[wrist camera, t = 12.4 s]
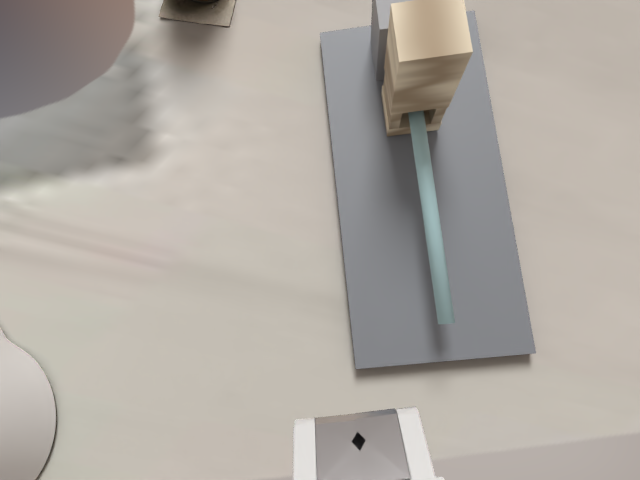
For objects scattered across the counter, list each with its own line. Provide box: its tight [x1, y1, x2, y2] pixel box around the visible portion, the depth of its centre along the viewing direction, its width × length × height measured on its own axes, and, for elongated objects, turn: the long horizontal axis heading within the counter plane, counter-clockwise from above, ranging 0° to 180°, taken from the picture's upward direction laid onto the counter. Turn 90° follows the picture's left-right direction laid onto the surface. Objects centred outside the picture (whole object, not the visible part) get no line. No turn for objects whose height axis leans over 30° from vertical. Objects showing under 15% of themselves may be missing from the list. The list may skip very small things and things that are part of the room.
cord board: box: [320, 0, 536, 369], centre depth 33 cm, size 14×30×8 cm, turn 5°
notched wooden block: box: [381, 0, 473, 136], centre depth 31 cm, size 4×4×11 cm
